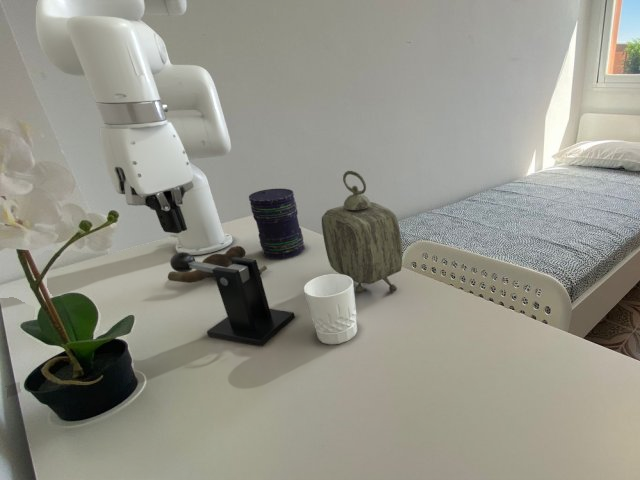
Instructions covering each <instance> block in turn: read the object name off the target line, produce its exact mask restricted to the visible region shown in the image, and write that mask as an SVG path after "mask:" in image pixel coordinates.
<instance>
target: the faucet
mask: <svg viewBox="0 0 640 480" xmlns="http://www.w3.org/2000/svg"><path fill="white" fill-rule="evenodd" d="M245 256H246V250H245V248H244V247H242V246H241V245H235V246H231V247H229V248H228V250H227V251H226V252H225V253H214V254H211V255H209V256H207V257H205V258H204V259H203V260H202V262H203V263H207V264H212V265H217V266H222V267H229V266H230V265H232V262H231V259H232V258H234V257H239V258H245ZM267 270H268V266H266V265H263V266H262V267H260V268H259V272H260V276H262V275H263V272H265V271H267ZM167 279H168V280H169V282H170V281H172V282H178V283H179V282H180V283H187V284H191V283H196V282H201V281H203V280H206V279H215V277H214V274H213V273H211V272H206V271H202V270H197V269H194V270H191V271H189V272H186V273H180V272H177V271H175V270H174V271H172V270H171V271H170V272H168V274H167Z"/></svg>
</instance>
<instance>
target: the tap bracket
mask: <svg viewBox="0 0 640 480" xmlns="http://www.w3.org/2000/svg"><path fill="white" fill-rule="evenodd" d="M231 262H232V264H238V265H243V266H248V270H249V275H250V279H248V280H247V281H245V282H244V283H243V282H242V279H241V275H240V272H239V270H236V269H228V268H221V267H216V268H214V269H212V271H213V274H214V280H215V283H216V287H217V288H218V292H219V295H220V298H221V301H222V304H223V307H224V310H225V314H226V317H225V318H223V319H222V320H221V321H219V322H218V323H216V324H215V325H213V326H212V327H211V328H209V329H208V330H206V334H207V336H208V338H212V339H213V338H214V339H220V340H224V341H231V342H236V343H241V344H247V345H253V346H257V347H258V346H259V347H263V346H264V345H265V344H267V343H268V342H269V341H270V340H271V339H273V337H275V336H276V335H277V334H278V333H279V332H281V331H282V330H283V329H285V328H286V326H288V325H289V324H290V323H291V322H292V321H293V320H294V319H295V318H296V316H295V312H293V311H286V310H280V309H274V308H270V305H269V302H268V298H267V294H266V291H265V287H264V283H263V280H262V275H260V272H259V269H260V268H259V265H258V261H257V259H254V258H246V257H243V258H239V257H234V258H232V259H231Z"/></svg>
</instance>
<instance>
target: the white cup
mask: <svg viewBox="0 0 640 480" xmlns="http://www.w3.org/2000/svg"><path fill="white" fill-rule="evenodd" d="M303 293H304V296H305V299H306V304H307V307H308V310H309V314H310V317H311V320H312V323H313V326H314V328H315V332H316V336H317V339H318V340H319V341H320V342H321V343H323V344H327V345H339V344H344V343H345V342H348V341H350V340H351V339H352V338H354V337H355V336H356V334H357V332H358V326H357V306H356V296H355V287H354V281H353V280H352V278H351V277H349V276H347V275H343V274H339V273H331V274H329V273H328V274H324V275H323V274H322V275H320V276H317V277H314V278H312V279H310V280H308V281H307V282H306V283H305V285H304V286H303Z"/></svg>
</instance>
